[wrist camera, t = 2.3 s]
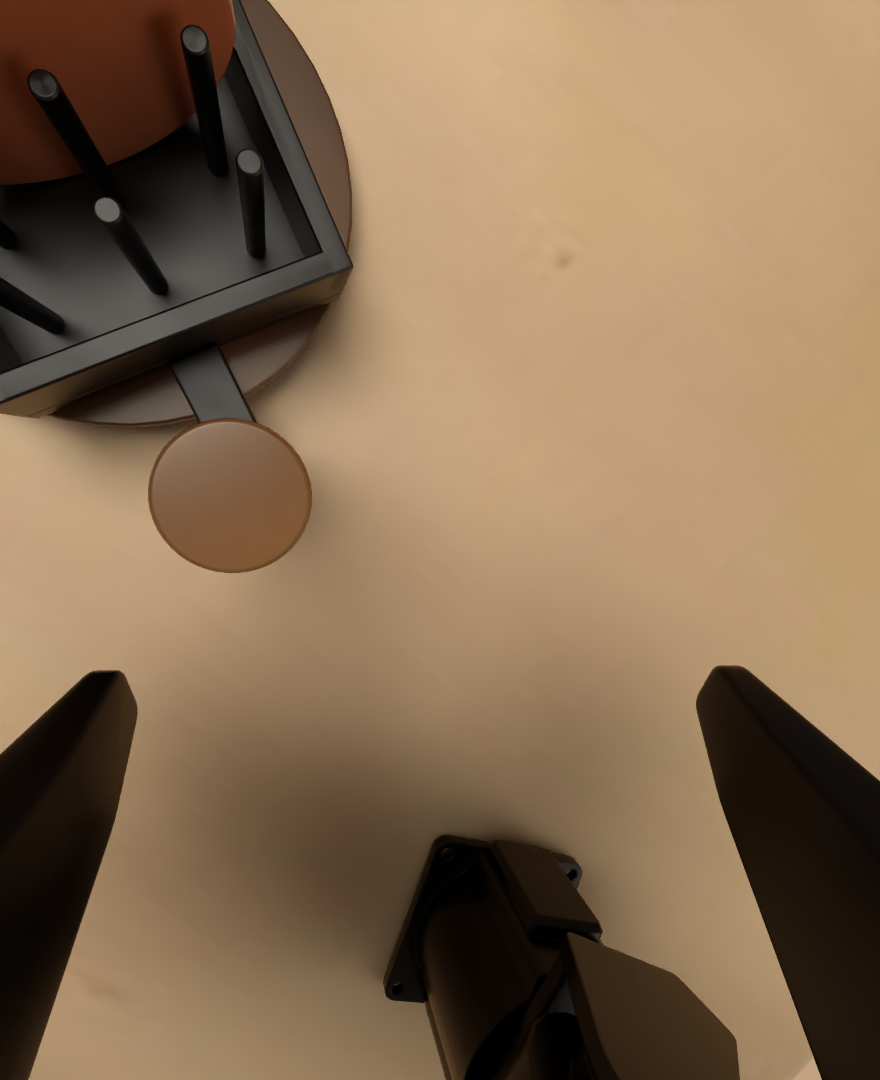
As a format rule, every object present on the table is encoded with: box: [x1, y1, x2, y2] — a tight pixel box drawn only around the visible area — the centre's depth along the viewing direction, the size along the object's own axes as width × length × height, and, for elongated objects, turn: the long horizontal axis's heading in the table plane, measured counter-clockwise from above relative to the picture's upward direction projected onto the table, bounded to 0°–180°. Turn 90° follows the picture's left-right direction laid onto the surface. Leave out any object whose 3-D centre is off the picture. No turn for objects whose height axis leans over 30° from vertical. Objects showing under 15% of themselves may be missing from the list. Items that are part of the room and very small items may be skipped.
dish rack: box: [0, 0, 353, 573], centre depth 11 cm, size 14×9×10 cm, turn 23°
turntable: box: [48, 0, 352, 427], centre depth 16 cm, size 13×13×2 cm
